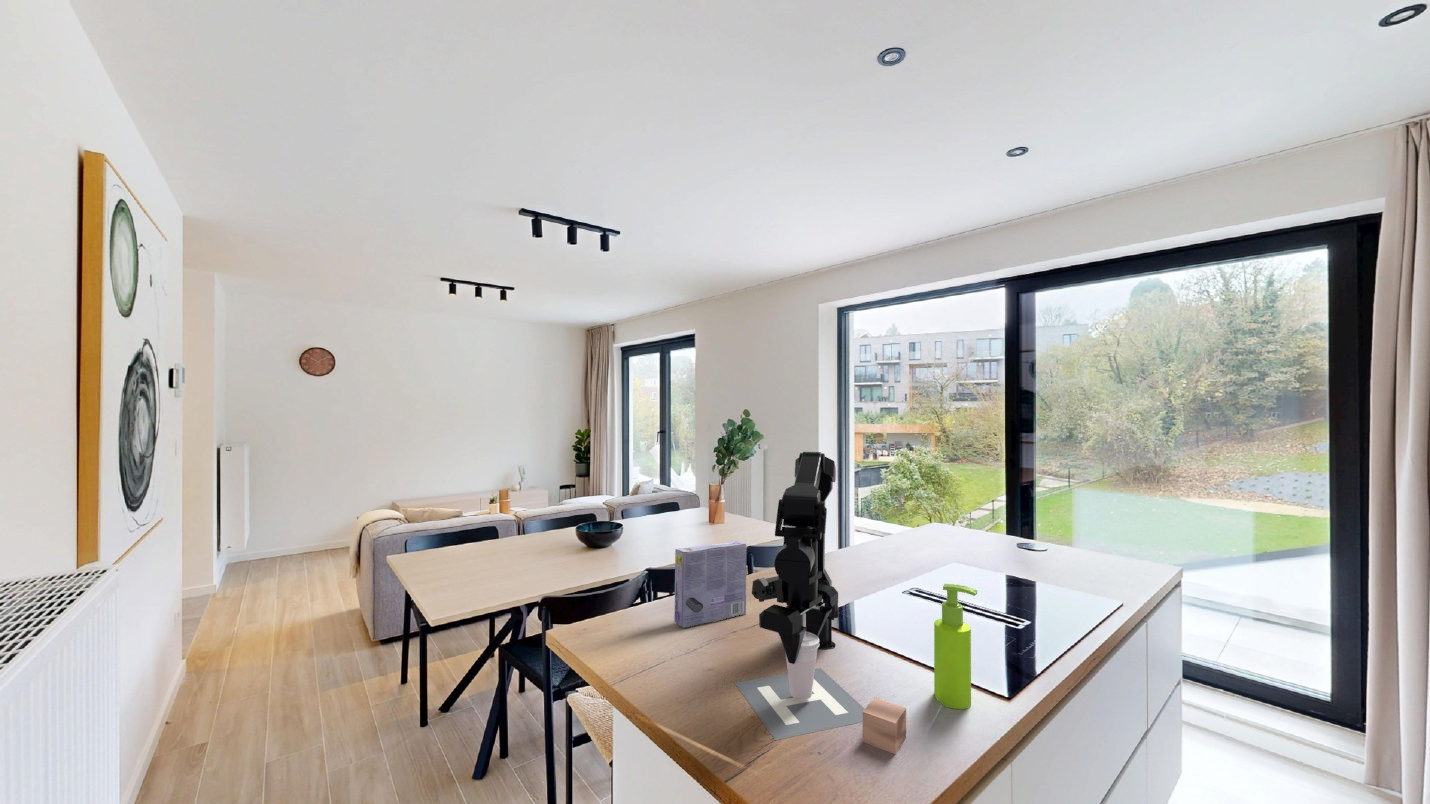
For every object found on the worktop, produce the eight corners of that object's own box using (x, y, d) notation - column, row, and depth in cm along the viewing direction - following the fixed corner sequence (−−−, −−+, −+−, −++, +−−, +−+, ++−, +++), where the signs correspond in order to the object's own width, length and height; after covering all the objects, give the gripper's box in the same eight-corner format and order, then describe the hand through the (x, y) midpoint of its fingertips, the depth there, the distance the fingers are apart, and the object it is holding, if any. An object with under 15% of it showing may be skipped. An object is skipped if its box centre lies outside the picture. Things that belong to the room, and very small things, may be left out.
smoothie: (819, 705, 89) (819, 621, 89) (780, 701, 90) (780, 618, 90) (819, 686, 95) (819, 607, 95) (783, 682, 96) (783, 604, 96)
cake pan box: (739, 607, 136) (740, 538, 137) (751, 614, 132) (751, 542, 132) (672, 622, 126) (673, 548, 127) (682, 630, 122) (682, 553, 122)
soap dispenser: (975, 715, 88) (975, 594, 89) (931, 702, 92) (931, 587, 92) (979, 699, 93) (979, 584, 94) (937, 687, 97) (937, 578, 97)
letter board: (820, 670, 104) (820, 668, 104) (876, 721, 86) (876, 719, 87) (734, 684, 98) (734, 682, 98) (775, 742, 81) (775, 740, 81)
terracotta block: (874, 729, 85) (874, 697, 85) (906, 740, 82) (906, 708, 82) (862, 744, 81) (862, 711, 81) (895, 757, 78) (895, 723, 78)
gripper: (786, 547, 105) (786, 626, 105) (732, 570, 90) (732, 663, 90) (839, 557, 98) (839, 641, 98) (790, 583, 83) (790, 683, 83)
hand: (800, 655), depth 92 cm, fingers closed on smoothie, 6 cm apart
